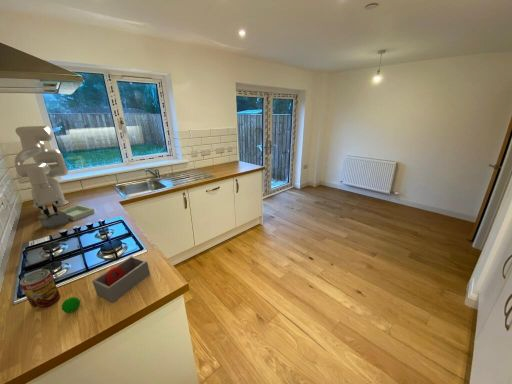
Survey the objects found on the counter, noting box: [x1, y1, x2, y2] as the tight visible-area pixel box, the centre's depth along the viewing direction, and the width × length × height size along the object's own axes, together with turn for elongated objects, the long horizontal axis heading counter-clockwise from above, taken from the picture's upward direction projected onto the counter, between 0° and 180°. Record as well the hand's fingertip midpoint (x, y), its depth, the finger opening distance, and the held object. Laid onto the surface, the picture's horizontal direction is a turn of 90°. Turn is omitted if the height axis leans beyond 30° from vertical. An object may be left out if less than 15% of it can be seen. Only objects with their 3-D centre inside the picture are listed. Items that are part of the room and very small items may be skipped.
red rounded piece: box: [105, 265, 125, 286], centre depth 89 cm, size 12×4×8 cm, turn 153°
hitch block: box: [37, 209, 70, 230], centre depth 137 cm, size 10×10×7 cm
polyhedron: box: [61, 296, 81, 314], centre depth 77 cm, size 5×5×5 cm
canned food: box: [19, 268, 62, 312], centre depth 79 cm, size 8×8×12 cm
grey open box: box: [91, 255, 151, 304], centre depth 88 cm, size 10×17×7 cm, turn 156°
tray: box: [60, 204, 95, 221], centre depth 152 cm, size 18×13×3 cm
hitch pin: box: [45, 202, 56, 217], centre depth 135 cm, size 5×5×13 cm
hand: (51, 213), depth 135 cm, fingers closed on hitch pin, 3 cm apart
